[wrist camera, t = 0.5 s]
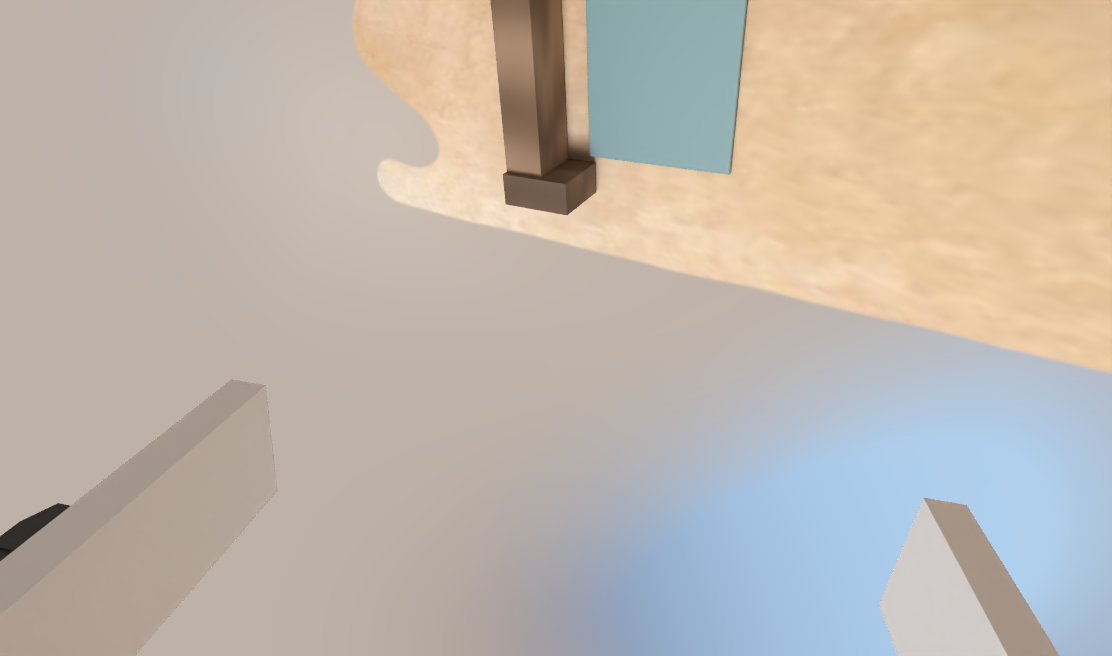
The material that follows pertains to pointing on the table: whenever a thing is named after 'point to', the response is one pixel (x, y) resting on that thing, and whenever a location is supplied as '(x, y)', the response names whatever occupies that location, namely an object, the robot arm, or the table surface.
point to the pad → (665, 80)
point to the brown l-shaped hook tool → (536, 108)
